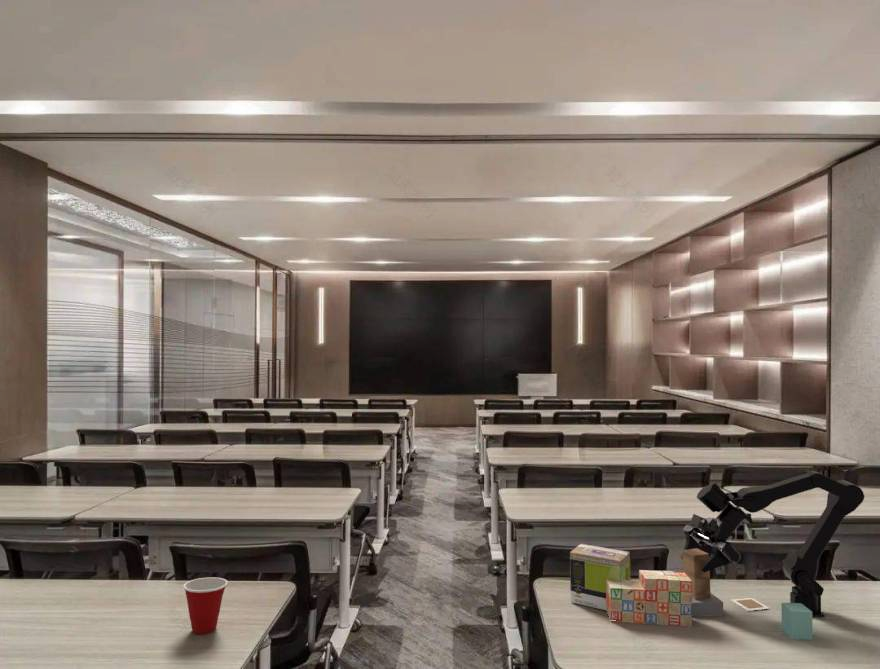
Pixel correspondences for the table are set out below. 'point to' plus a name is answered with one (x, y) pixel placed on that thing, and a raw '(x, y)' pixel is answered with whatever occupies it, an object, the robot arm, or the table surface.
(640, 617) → the stack of blocks
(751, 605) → the card
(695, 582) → the walnut block
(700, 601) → the base block
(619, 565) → the tea box
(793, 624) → the teal block
